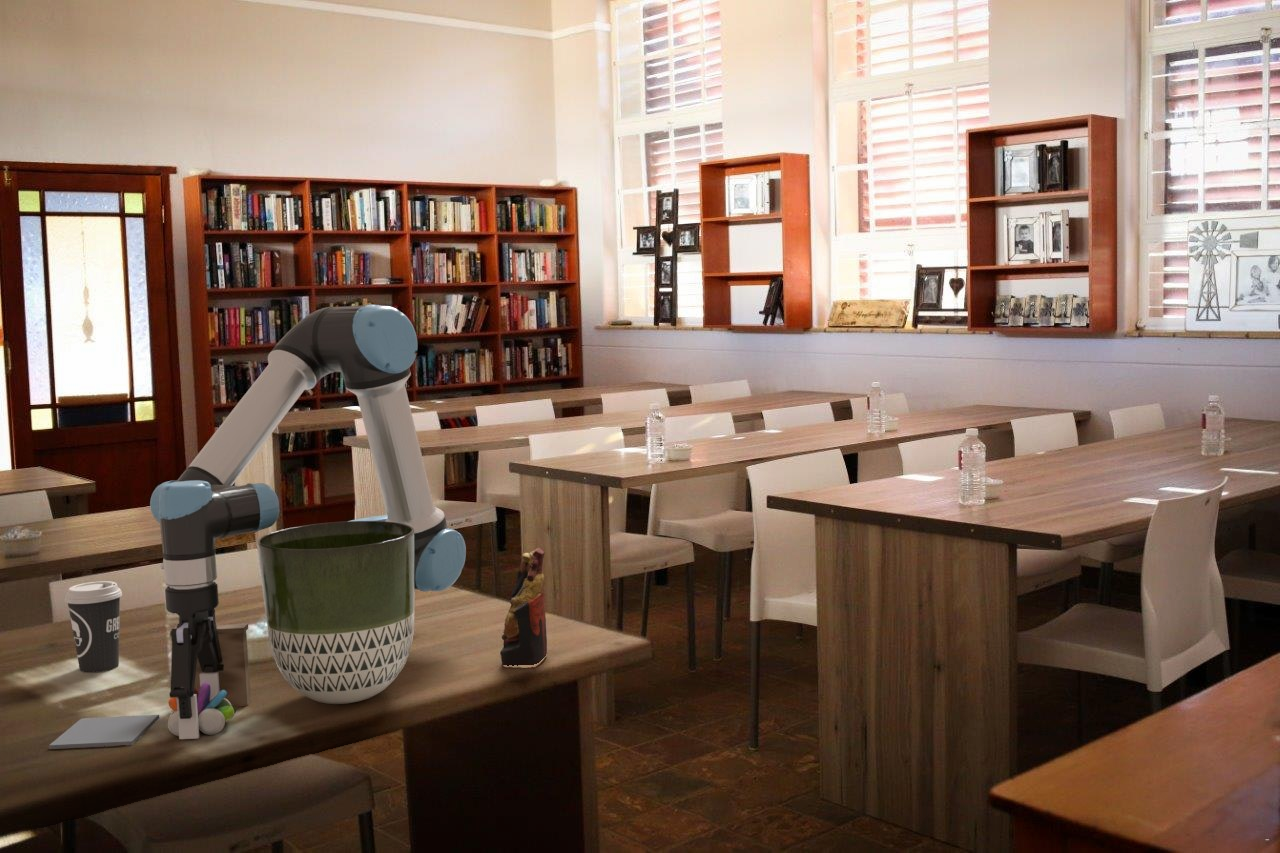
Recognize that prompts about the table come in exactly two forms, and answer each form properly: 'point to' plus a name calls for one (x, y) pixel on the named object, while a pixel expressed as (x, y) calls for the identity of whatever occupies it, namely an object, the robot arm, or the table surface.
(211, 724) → the rainbow petal cluster
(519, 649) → the statue
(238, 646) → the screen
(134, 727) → the pad
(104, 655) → the coffee cup
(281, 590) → the planter
